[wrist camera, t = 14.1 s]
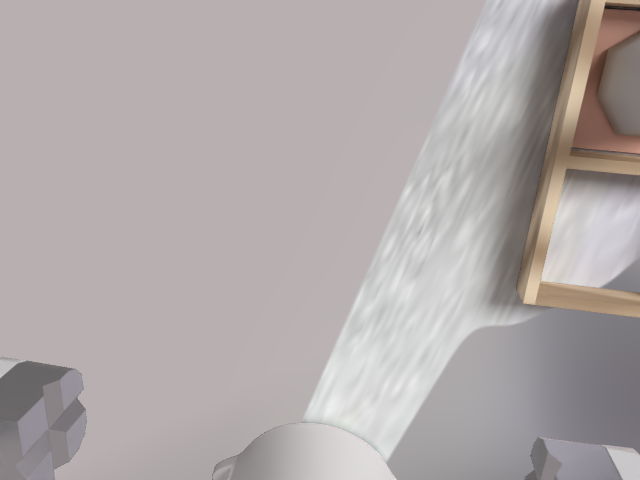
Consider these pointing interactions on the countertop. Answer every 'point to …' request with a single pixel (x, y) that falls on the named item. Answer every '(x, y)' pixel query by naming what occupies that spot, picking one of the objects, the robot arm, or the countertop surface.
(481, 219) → the countertop surface
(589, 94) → the oak caddy
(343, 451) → the robot arm
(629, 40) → the flask
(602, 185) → the countertop surface
